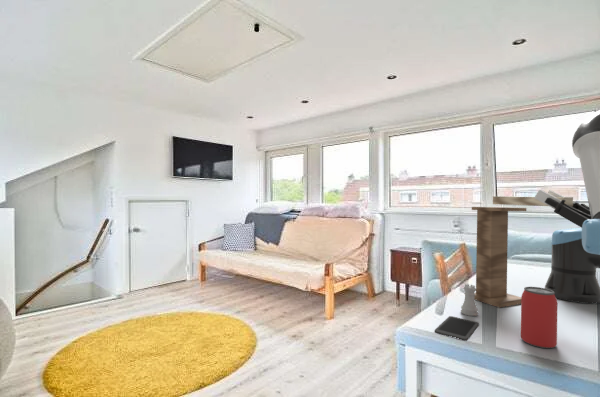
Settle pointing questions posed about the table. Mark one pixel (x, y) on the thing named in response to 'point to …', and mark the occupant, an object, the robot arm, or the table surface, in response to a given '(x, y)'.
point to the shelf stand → (493, 256)
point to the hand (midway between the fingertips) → (542, 194)
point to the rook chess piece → (469, 301)
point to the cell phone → (457, 328)
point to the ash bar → (526, 201)
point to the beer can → (539, 317)
